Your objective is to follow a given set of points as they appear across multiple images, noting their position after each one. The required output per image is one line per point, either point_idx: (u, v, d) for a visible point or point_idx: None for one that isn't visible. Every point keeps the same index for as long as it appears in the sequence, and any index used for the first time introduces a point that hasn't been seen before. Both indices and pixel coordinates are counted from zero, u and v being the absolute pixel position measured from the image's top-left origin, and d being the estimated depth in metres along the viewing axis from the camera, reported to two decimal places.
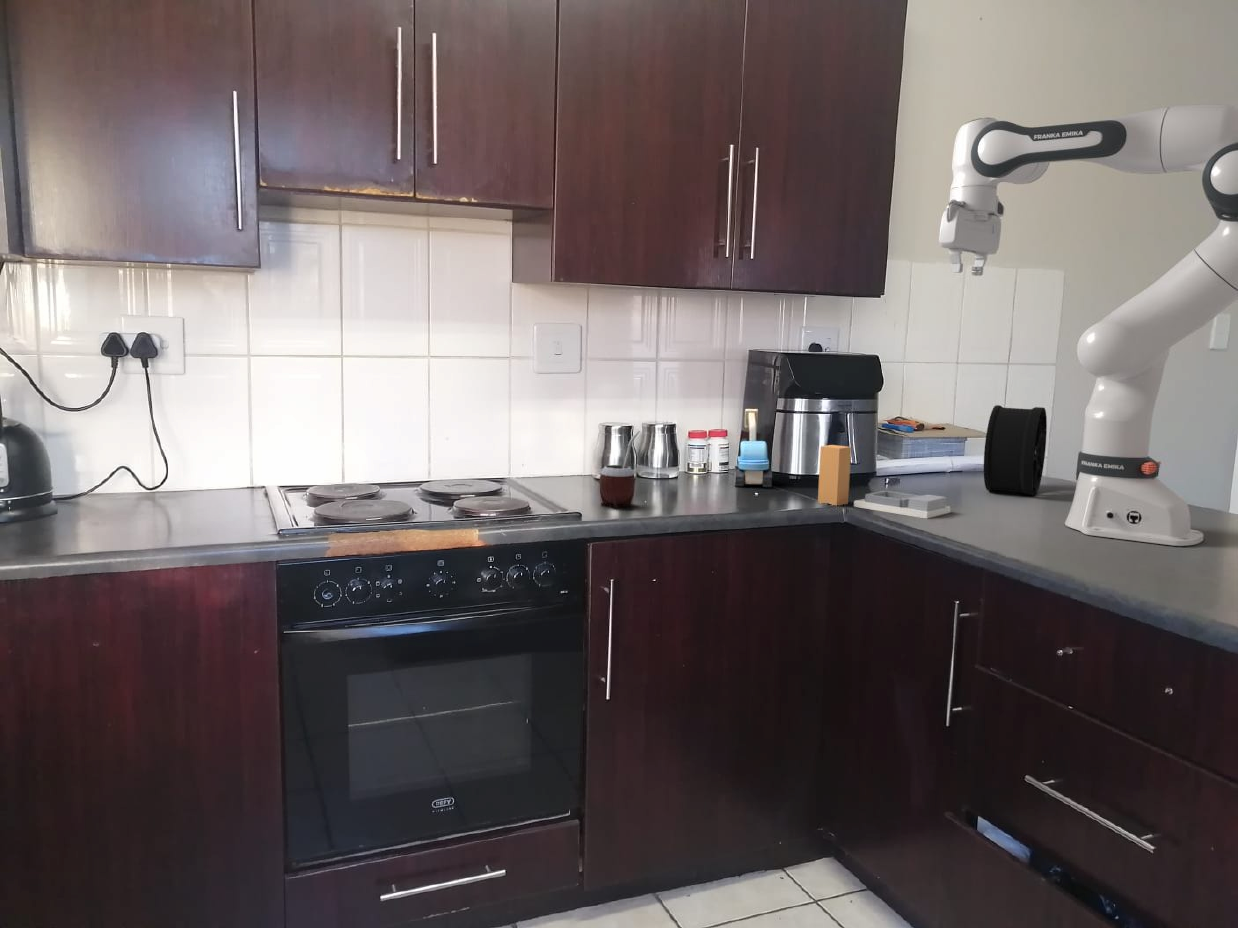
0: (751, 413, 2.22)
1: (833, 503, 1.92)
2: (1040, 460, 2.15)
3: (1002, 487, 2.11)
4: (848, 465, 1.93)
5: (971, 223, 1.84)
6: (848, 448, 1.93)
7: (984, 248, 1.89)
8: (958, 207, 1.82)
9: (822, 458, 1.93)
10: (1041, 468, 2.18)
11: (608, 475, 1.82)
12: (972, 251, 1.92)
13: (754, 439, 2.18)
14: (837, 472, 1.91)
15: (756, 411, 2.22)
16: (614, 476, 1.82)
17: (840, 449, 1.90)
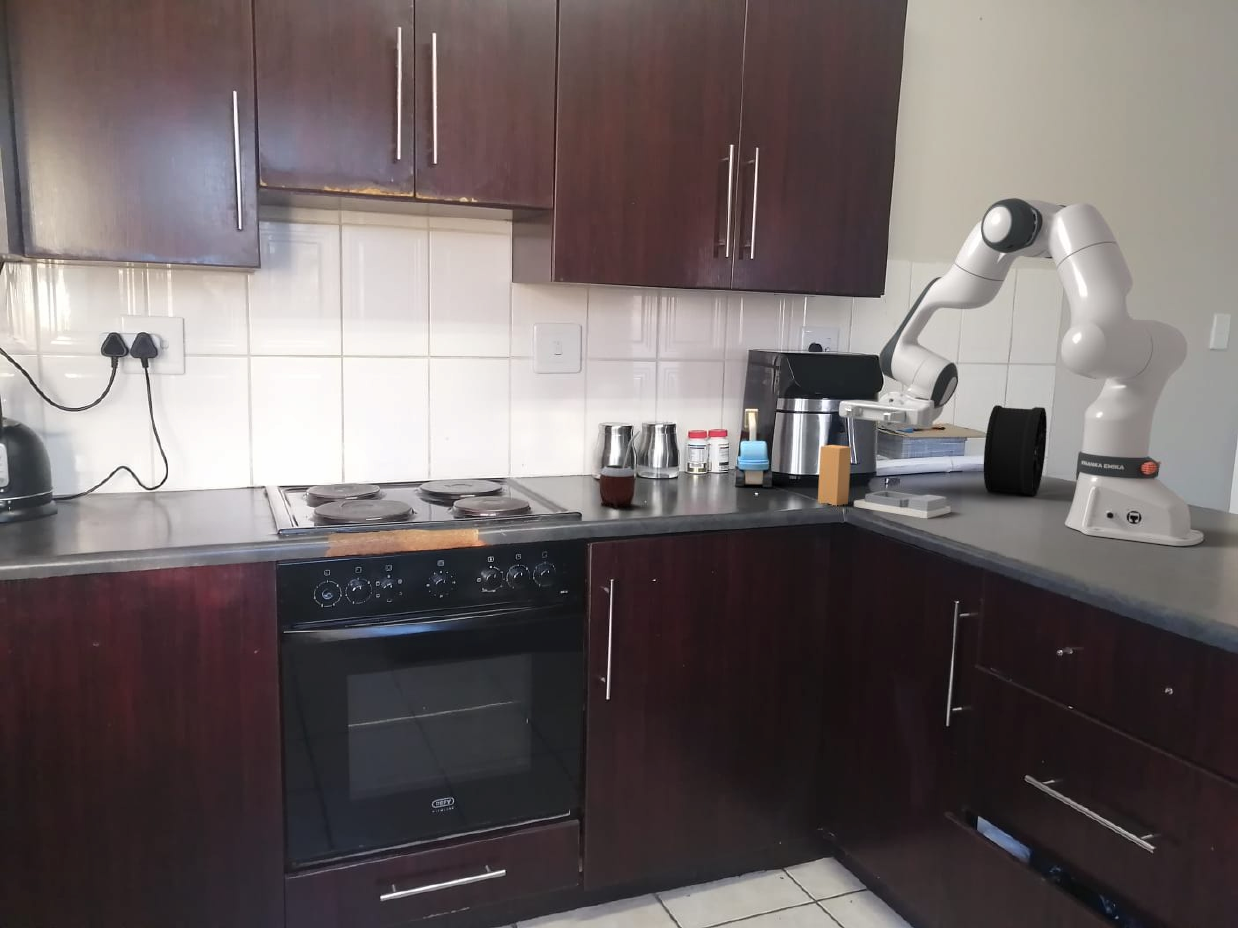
0: (751, 413, 2.22)
1: (833, 503, 1.92)
2: (1040, 460, 2.15)
3: (1002, 487, 2.11)
4: (848, 465, 1.93)
5: (877, 403, 2.10)
6: (848, 448, 1.93)
7: (893, 406, 2.02)
8: None
9: (822, 458, 1.93)
10: (1041, 468, 2.18)
11: (608, 475, 1.82)
12: (895, 420, 2.02)
13: (754, 439, 2.18)
14: (837, 472, 1.91)
15: (756, 411, 2.22)
16: (614, 476, 1.82)
17: (840, 449, 1.90)
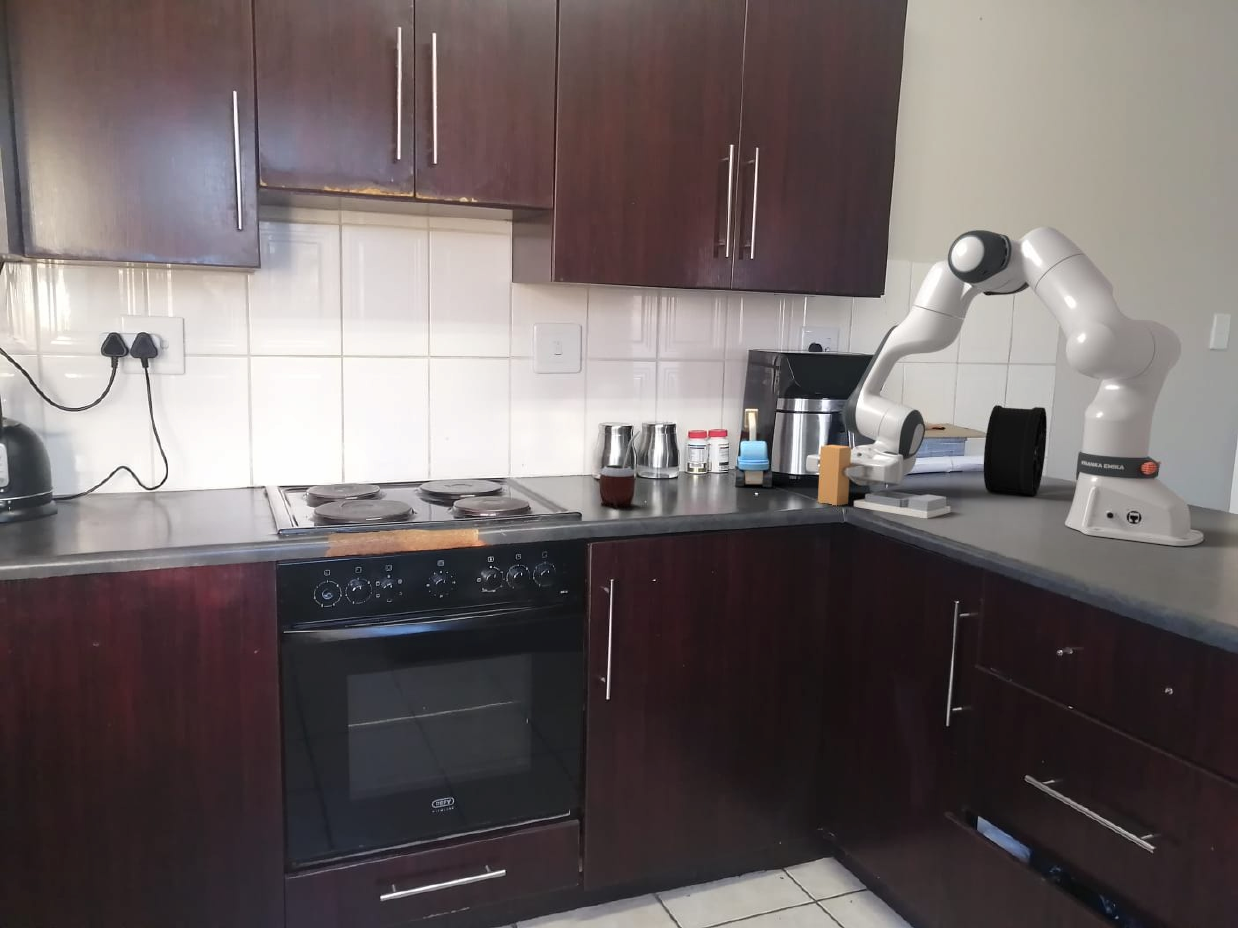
0: (751, 413, 2.22)
1: (833, 503, 1.92)
2: (1040, 460, 2.15)
3: (1002, 487, 2.11)
4: (848, 465, 1.93)
5: None
6: (848, 448, 1.93)
7: (860, 461, 1.95)
8: None
9: (822, 458, 1.93)
10: (1041, 468, 2.18)
11: (608, 475, 1.82)
12: (862, 476, 1.94)
13: (754, 439, 2.18)
14: (837, 472, 1.91)
15: (756, 411, 2.22)
16: (614, 476, 1.82)
17: (840, 449, 1.90)
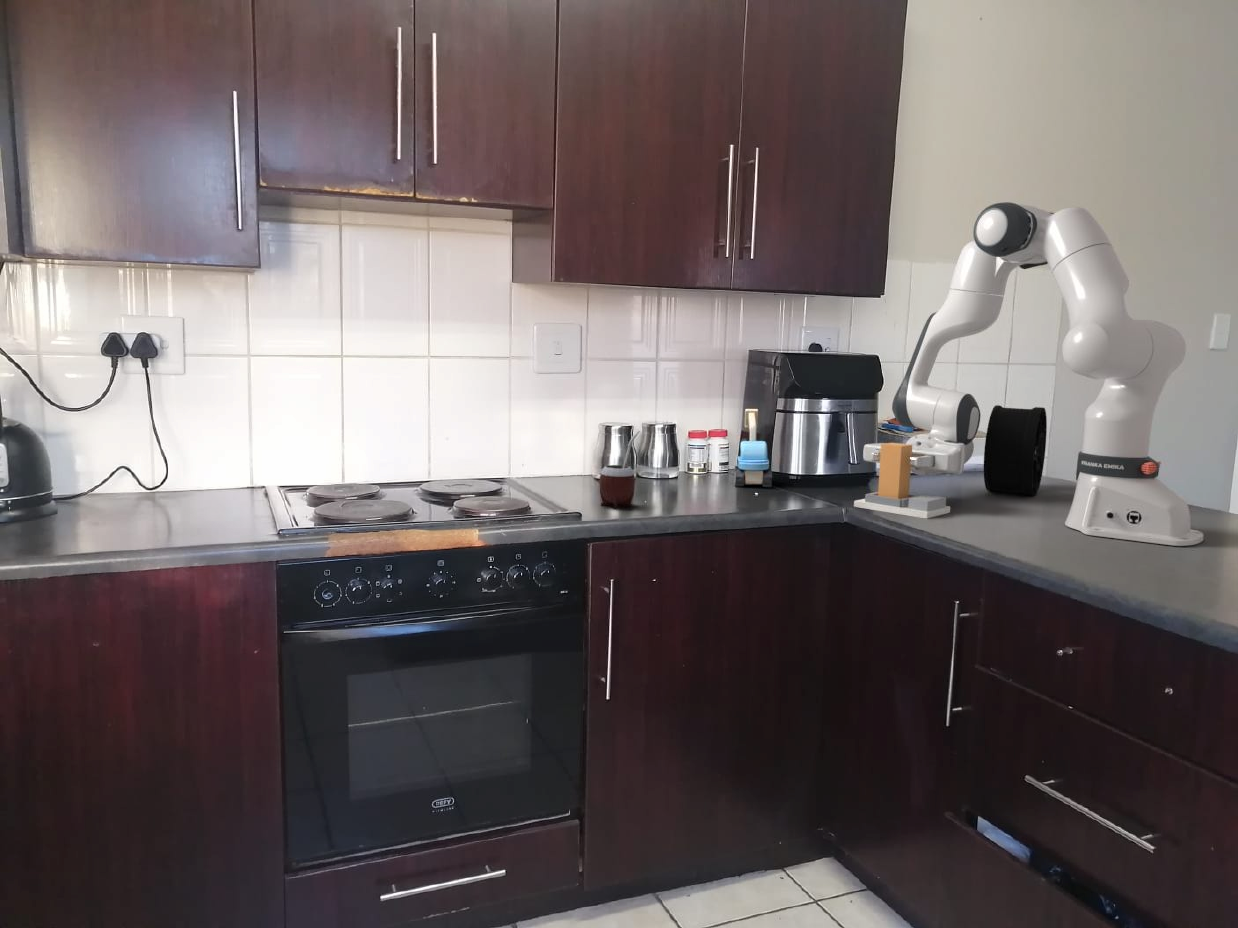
0: (751, 413, 2.22)
1: None
2: (1040, 460, 2.15)
3: (1002, 487, 2.11)
4: (909, 463, 1.89)
5: None
6: (909, 446, 1.88)
7: (922, 450, 1.90)
8: None
9: (883, 456, 1.89)
10: (1041, 468, 2.18)
11: (608, 475, 1.82)
12: None
13: (754, 439, 2.18)
14: (899, 471, 1.87)
15: (756, 411, 2.22)
16: (614, 476, 1.82)
17: (902, 447, 1.86)
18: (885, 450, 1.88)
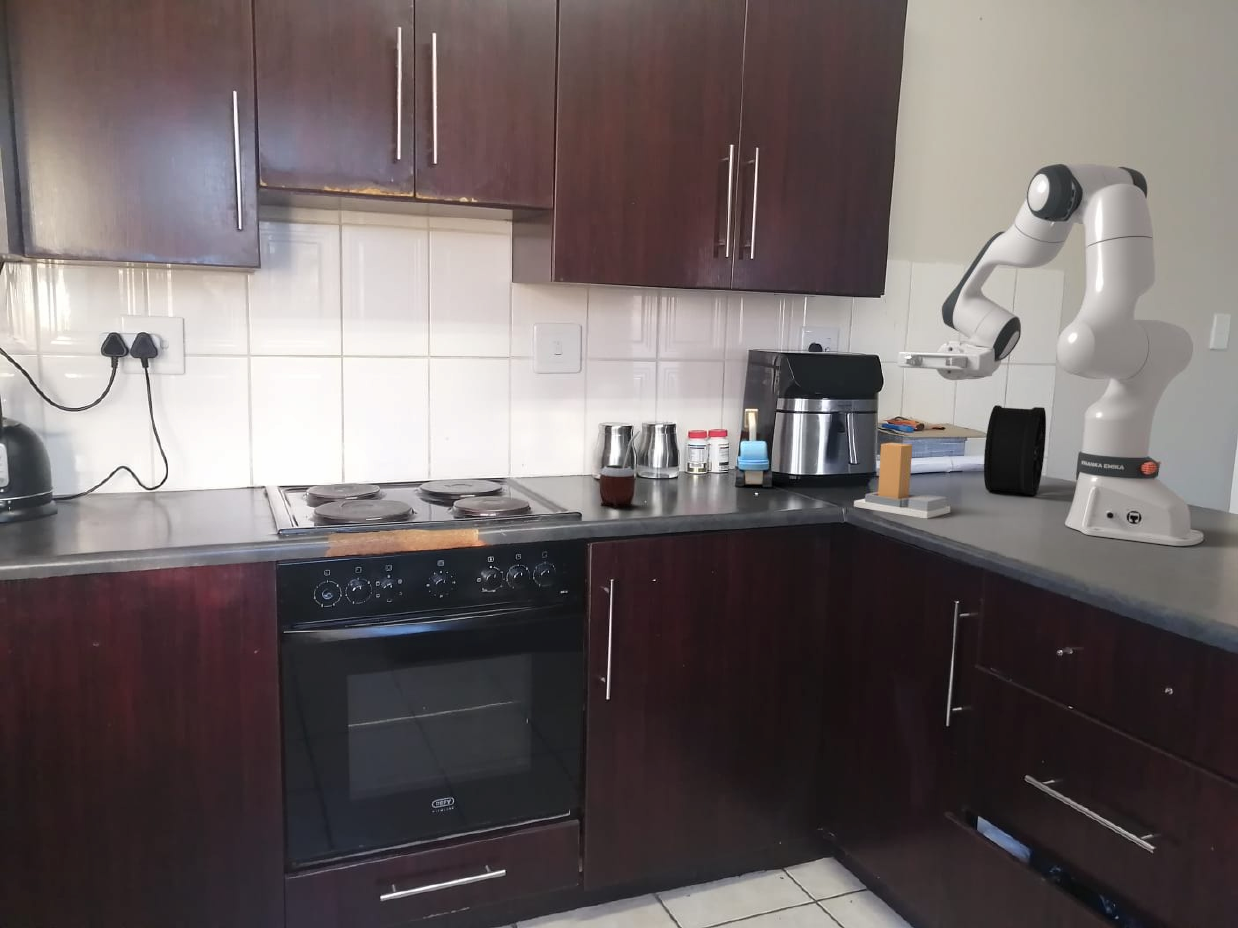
0: (751, 413, 2.22)
1: None
2: (1039, 460, 2.15)
3: (1002, 487, 2.11)
4: (909, 463, 1.89)
5: None
6: (909, 446, 1.88)
7: (954, 353, 2.02)
8: None
9: (883, 456, 1.89)
10: (1040, 468, 2.18)
11: (608, 475, 1.82)
12: (956, 366, 2.02)
13: (754, 439, 2.18)
14: (899, 471, 1.87)
15: (756, 411, 2.22)
16: (614, 476, 1.82)
17: (902, 447, 1.86)
18: (885, 450, 1.88)
